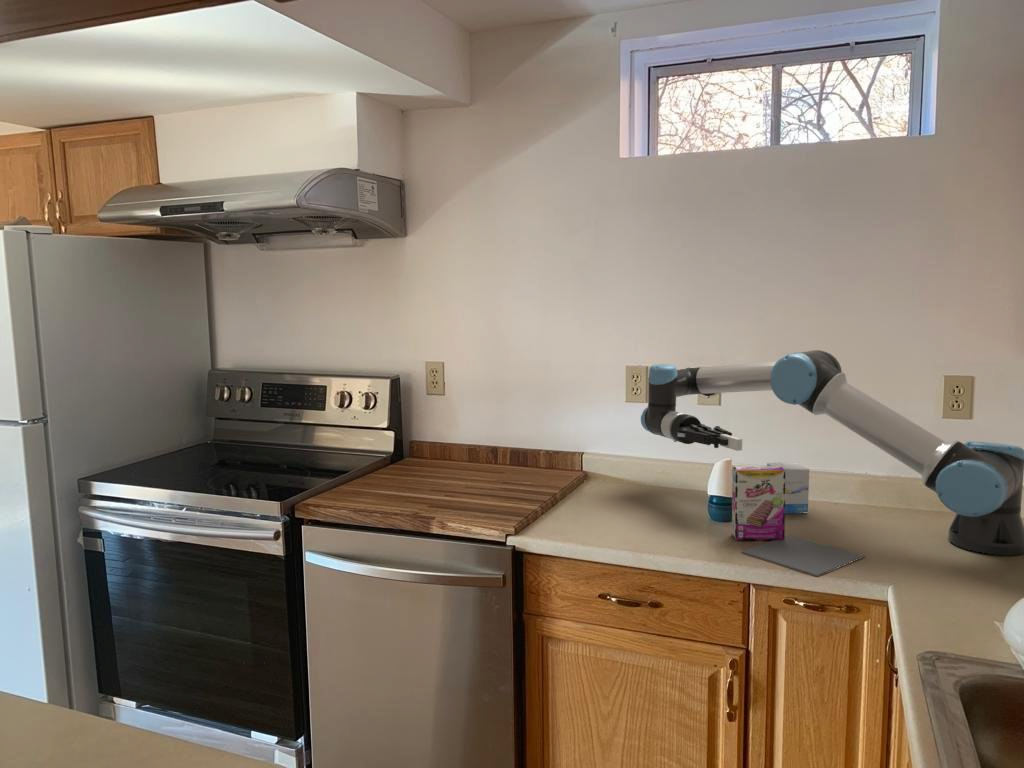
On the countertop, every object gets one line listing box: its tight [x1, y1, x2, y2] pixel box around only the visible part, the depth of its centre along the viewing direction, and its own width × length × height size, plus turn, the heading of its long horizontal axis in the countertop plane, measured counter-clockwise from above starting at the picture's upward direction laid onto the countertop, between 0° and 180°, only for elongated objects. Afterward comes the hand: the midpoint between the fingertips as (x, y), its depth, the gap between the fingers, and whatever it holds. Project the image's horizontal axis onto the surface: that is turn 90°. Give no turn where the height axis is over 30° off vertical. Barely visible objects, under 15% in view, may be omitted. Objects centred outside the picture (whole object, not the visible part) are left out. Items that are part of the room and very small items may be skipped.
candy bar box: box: [731, 465, 786, 541], centre depth 177 cm, size 11×5×16 cm, turn 84°
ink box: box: [766, 461, 810, 514], centre depth 200 cm, size 8×8×12 cm
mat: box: [741, 534, 865, 578], centre depth 167 cm, size 18×18×1 cm
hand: (739, 444), depth 182 cm, fingers closed
